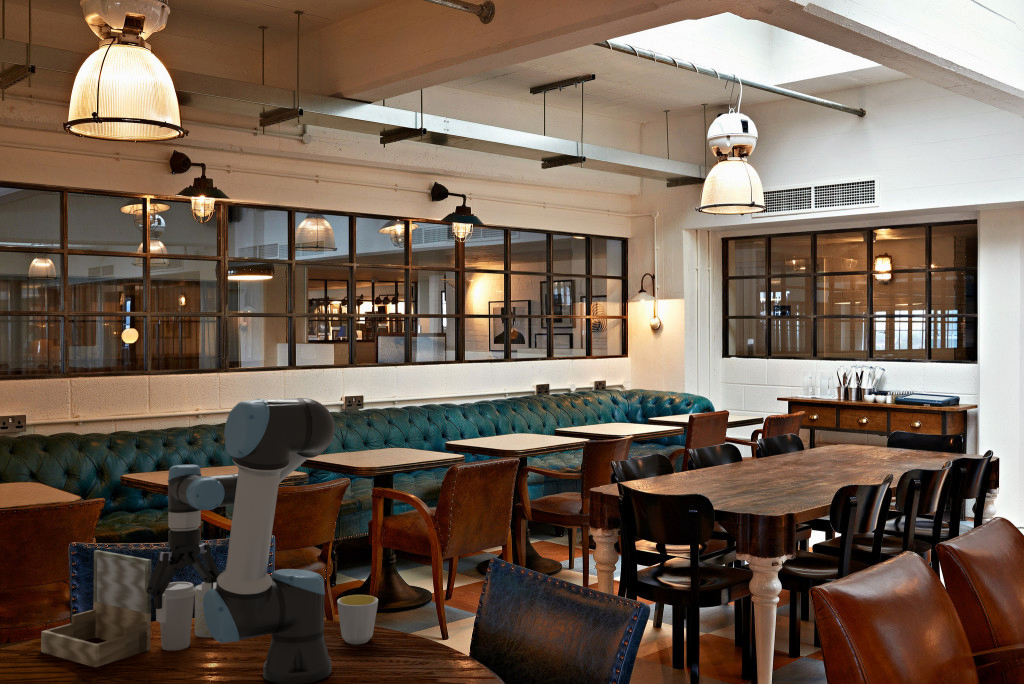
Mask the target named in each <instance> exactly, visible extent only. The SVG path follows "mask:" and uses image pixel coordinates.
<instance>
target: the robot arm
mask: <svg viewBox="0 0 1024 684" xmlns="http://www.w3.org/2000/svg"><path fill="white" fill-rule="evenodd" d="M335 426H336V425H335V420H334V417H333V415H332V413H331V412H330V410H329V409H328V408H327V407H326V406H324V404H322V403H321V402H319V401H317V400H315V399H312V398H306V397H299V398H298V397H297V398H268V399H267V398H265V399H264V398H256V399H249V400H248V399H247V400H243V401H240V402H238V403H237V404H235V406H233V407H232V408H231V410H230V412H229V413H228V415H227V418H226V421H225V426H224V433H223V434H224V435H223V438H224V445H225V446H224V447H225V449H226V452H227V453H228V454H229V456H231V457H232V458H231V459H232V462H233V464H234V465H235V466H236V467H237V468H238V470H237V472H238V473H230V474H216V475H205V476H204V475H202V470H201V467H200V465H198V464H177V465H172V466H171V467H170V468H169V469H168V478H167V485H168V486H167V489H168V490H167V491H168V495H167V496H168V501H167V502H168V506H167V507H168V510H167V511H168V515H167V516H168V517H167V519H168V521H167V523H168V524H167V526H168V528H169V530H168V531H167V532H168V535H167V537H168V540H167V541H168V542H167V543H168V546H169V551H166V552H165V551H159V552H158V554H157V561H156V565H155V567H154V570H153V572H152V573H151V580H150V582H149V585H148V587H147V590H146V592H147V593H149V594H151V595H153V608H154V609H155V611H156V612H155V615H156V616H155V618H156V619H155V621H156V622H157V623H160V622H161V623H165V622H166V595H165V594H163V593H164V592H165V590H166V588H167V587H168V585H169V583H172V582H171V581H172V580H173V579H174V576H176V573H177V572H178V571H179V570H180V569H182V568H186V567H193V568H194V569H195V571H196V572H197V573H198V574H199V576H200V577H201V578H202V580H203V582H201V584H202V609H204V616H205V620H206V623H207V626H208V629H209V631H210V633H211V635H212V636H213V637H212V638H213V639H214V640H215V641H216V642H218V643H221V644H226V643H227V644H228V643H232V642H235V643H238V642H240V641H243V640H247V639H253V638H258V637H261V636H262V637H263V636H267V635H271V642H270V645H269V647H268V651H267V654H266V660H265V661H264V663H263V667H262V670H263V675H262V676H263V678H264V679H265V680H266V681H267V682H269V683H273V684H311V683H314V682H318V681H321V680H323V679H325V678H327V677H329V676H330V675H331V674H332V659H331V657H330V656H329V652H328V646H327V643H326V641H325V595H326V592H325V580H324V578H323V576H322V575H321V574H320V573H318V572H315V571H312V570H306V569H295V568H282V569H280V568H279V569H277V570H274V571H273V572H272V573H271V575H269V573H268V572H267V571H268V564H269V558H270V549H271V544H272V543H271V542H272V536H273V527H274V520H275V514H276V507H277V506H276V505H277V500H278V499H277V498H278V493H279V492H278V491H279V484H280V483H282V481H284V480H285V479H286V478H287V477H288V476H289V475H291V474H292V473H294V471H295V470H296V469H298V468H299V467H300V466H301V465H302V464H303V463H304V462H306V461H307V460H308V459H313V458H316V457H318V456H320V455H321V454H322V453H323V452H324V451H325V450H327V449H328V447H330V445H331V443H332V441H333V439H334V437H335V429H336V428H335ZM227 506H233V510H232V516H231V517H232V519H231V526H230V534H229V541H228V549H227V557H226V566H225V569H224V570H223V571H222V572H221V573H220V571H219V569H218V566H217V564H216V562H215V560H214V557H213V554H212V553H211V545H210V544H209V543H204V542H203V543H201V541H202V540H201V539H202V538H201V537H202V536H201V532H202V531H201V529H200V526H201V524H202V521H201V520H202V517H201V513H202V511H211V510H214V509H216V508H219V507H227ZM199 555H200V556H201V558H200V557H199ZM213 583H217V584H216V588H215V589H213Z"/></svg>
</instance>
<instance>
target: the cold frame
mask: <svg viewBox="0 0 1024 684" xmlns="http://www.w3.org/2000/svg"><path fill="white" fill-rule="evenodd" d="M151 577H152V559H148V558H143V557H137V556H133V555H128V554H127V555H126V554H122V553H115V552H110V551H104V550H100V549H97V550H94V551H93V602H92V603H93V605H92V606H93V609H90V610H87V611H83V612H79V613H75V614H71V623H67V624H63V625H60V626H57V627H53V628H49V629H45V630H42V631H40V633H41V635H40V637H41V639H40V640H41V641H40V643H41V645H40V650H41V651H40V652H41V653H43V654H47V655H51V656H53V657H57V658H61V659H64V660H68V661H72V662H75V663H79V664H83V665H86V666H88V667H93V668H98V667H101V666H104V665H107V664H111V663H113V662H114V663H115V662H117V661H120V660H123V659H126V658H129V657H133V656H135V655H139V654H142V653H144V652H148V651H151V639H152V635H151V634H152V631H151V629H152V628H151V626H152V625H151V623H152V622H151V620H152V594H149V593H147V592H146V590H147V587H148V585H149V582H150V580H151ZM99 638H100V640H103V641H102V642H99V643H94V642H92V641H91V642H90V641H89V640H93V639H99ZM141 652H142V653H141Z"/></svg>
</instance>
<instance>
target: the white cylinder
mask: <svg viewBox="0 0 1024 684" xmlns="http://www.w3.org/2000/svg"><path fill="white" fill-rule="evenodd" d="M216 584H217V582H215V583H213V589H215V588H216ZM194 588H195V589H196V592H197V593H196V594H195V596H194V636H196V637H198V638H213V636H212V635H211V633H210V631H209V629H208V626H207V623H206V620H205V616H204V609H202V583H201V584H198V585H195V586H194Z"/></svg>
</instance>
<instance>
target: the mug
mask: <svg viewBox="0 0 1024 684" xmlns="http://www.w3.org/2000/svg"><path fill="white" fill-rule="evenodd" d="M336 604H337V610H338V611H337V612H338V619H339V627H340V634H341V637H342V639H343V640H344V641H345V642H346V643H347V644H348V645H349V644H350V645H362V644H363V645H364V644H366V643H368V642H369V641H370V639H371V638H372V637H374V635H373V634H374V628H375V623H376V617H377V611H378V606H379V605H378V604H379V599H378V598H377V597H375V596H373V595H366V594H352V595H351V594H350V595H347V596H343V597H340V598H338V599H337V600H336Z"/></svg>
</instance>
